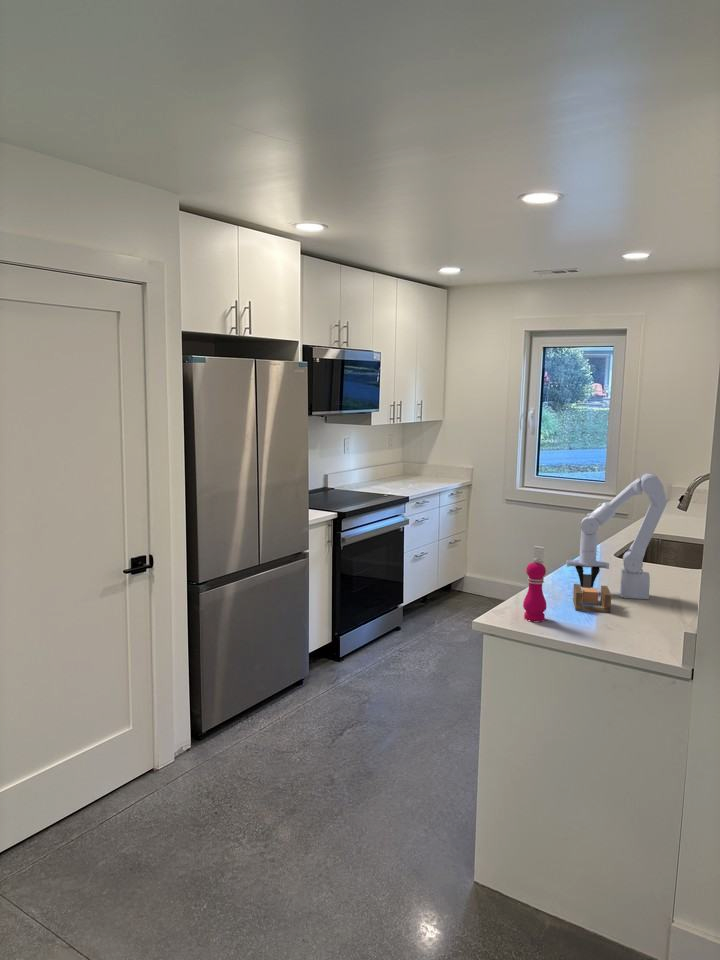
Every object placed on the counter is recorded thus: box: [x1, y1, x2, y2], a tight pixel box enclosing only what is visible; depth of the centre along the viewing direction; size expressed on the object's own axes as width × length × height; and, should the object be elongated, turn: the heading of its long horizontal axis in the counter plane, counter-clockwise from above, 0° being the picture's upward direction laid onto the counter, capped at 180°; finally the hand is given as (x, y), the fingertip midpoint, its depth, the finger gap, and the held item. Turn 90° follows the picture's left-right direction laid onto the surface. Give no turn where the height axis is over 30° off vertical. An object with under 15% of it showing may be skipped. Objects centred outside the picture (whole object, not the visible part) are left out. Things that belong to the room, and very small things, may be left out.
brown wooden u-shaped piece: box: [572, 583, 612, 614], centre depth 230 cm, size 11×11×6 cm
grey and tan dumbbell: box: [581, 573, 599, 605], centre depth 240 cm, size 5×16×6 cm, turn 167°
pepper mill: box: [522, 557, 547, 622], centre depth 216 cm, size 7×7×20 cm
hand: (586, 586), depth 247 cm, fingers closed on grey and tan dumbbell, 3 cm apart
